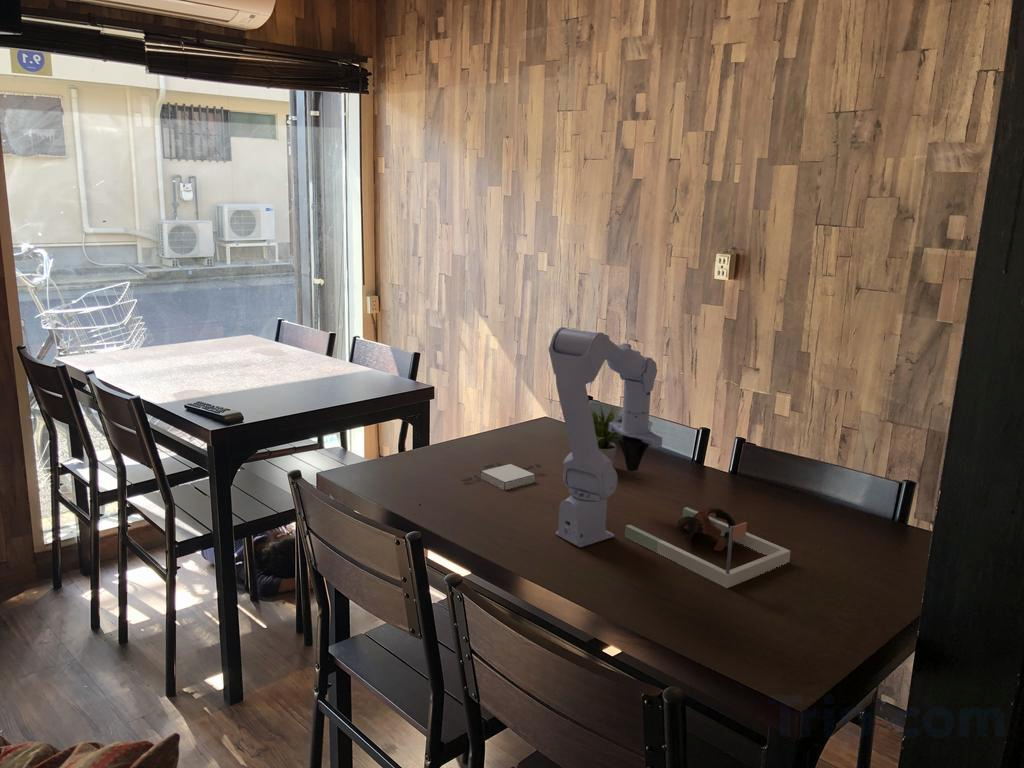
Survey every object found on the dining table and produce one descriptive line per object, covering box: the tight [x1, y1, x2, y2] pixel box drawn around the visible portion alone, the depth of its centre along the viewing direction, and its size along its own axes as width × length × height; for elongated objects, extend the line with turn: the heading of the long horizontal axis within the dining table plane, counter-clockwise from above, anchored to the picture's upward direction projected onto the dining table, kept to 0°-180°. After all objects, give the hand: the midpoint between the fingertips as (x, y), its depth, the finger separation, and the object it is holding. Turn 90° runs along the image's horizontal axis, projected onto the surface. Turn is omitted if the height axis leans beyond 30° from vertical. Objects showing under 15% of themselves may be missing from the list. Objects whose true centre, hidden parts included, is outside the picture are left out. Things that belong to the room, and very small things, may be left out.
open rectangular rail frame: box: [624, 506, 791, 589], centre depth 158 cm, size 18×26×12 cm
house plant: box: [590, 406, 623, 466], centre depth 202 cm, size 14×14×16 cm
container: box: [460, 462, 542, 491], centre depth 196 cm, size 20×11×3 cm, turn 129°
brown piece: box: [676, 506, 737, 552], centre depth 162 cm, size 12×10×8 cm
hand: (632, 470), depth 177 cm, fingers closed
